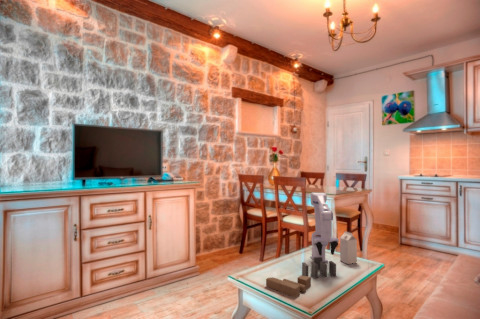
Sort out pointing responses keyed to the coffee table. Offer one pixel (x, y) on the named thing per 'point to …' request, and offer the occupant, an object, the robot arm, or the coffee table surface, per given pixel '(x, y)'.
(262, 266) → the coffee table surface
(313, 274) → the domino
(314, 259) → the domino
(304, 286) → the wooden block set
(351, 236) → the milk carton
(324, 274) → the domino
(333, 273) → the domino
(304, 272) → the domino
